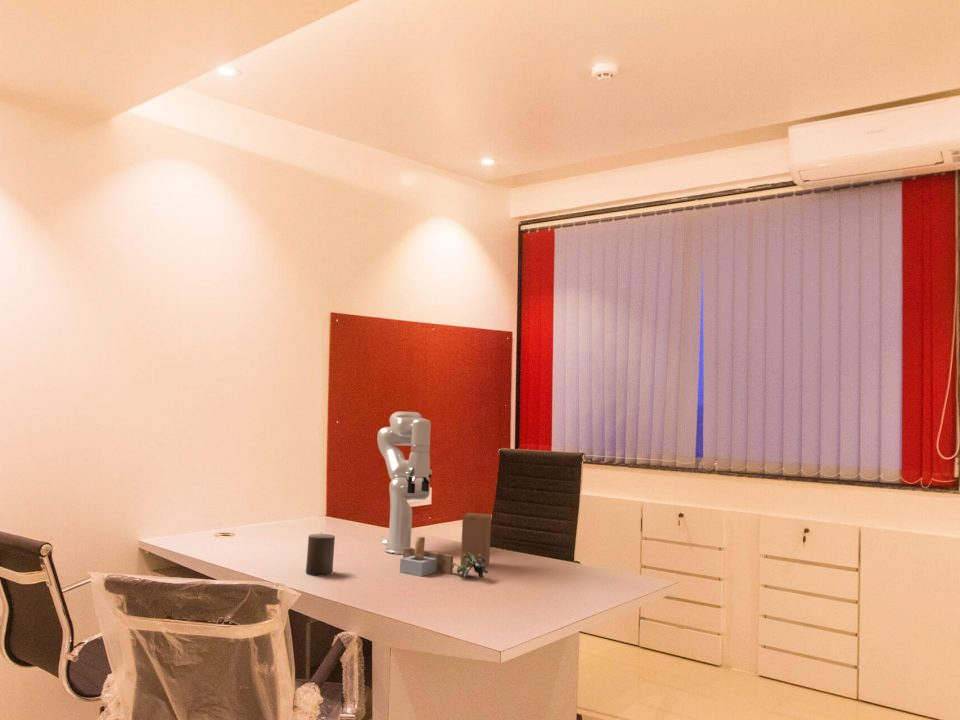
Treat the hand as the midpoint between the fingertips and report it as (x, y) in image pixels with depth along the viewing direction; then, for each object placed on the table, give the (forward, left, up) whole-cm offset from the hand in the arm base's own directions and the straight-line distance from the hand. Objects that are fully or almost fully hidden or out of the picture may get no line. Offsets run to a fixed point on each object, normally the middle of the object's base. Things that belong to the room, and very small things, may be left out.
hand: (418, 492), depth 310 cm
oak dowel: (+11, -13, -27) cm, 32 cm away
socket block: (+11, -13, -28) cm, 33 cm away
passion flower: (+31, -8, -29) cm, 43 cm away
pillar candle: (-16, -38, -28) cm, 50 cm away
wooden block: (+20, +14, -28) cm, 38 cm away
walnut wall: (+11, -7, -28) cm, 31 cm away
